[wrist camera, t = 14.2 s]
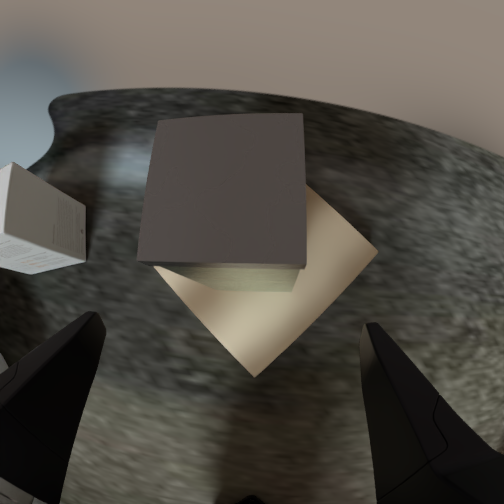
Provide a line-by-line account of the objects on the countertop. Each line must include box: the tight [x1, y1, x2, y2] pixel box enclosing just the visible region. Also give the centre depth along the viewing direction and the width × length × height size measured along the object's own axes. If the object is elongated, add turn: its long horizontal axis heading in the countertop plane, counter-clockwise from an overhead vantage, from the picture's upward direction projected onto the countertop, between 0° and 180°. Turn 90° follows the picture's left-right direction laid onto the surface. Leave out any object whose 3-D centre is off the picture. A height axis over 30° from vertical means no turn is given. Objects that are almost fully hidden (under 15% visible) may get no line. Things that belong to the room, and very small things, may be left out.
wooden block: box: [154, 185, 378, 377], centre depth 23 cm, size 12×12×3 cm
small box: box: [0, 162, 86, 274], centre depth 21 cm, size 8×6×10 cm
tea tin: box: [137, 113, 307, 292], centre depth 15 cm, size 5×5×12 cm
